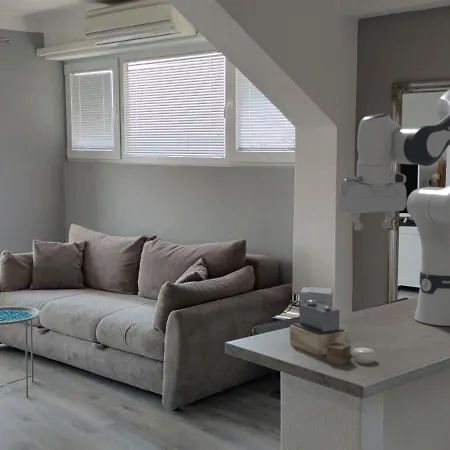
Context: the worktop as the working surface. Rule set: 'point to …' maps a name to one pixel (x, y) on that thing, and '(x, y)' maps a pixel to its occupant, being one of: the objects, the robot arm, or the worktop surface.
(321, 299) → the ink box
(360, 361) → the white egg shape
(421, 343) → the worktop surface
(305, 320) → the block
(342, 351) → the walnut block
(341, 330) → the stand
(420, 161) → the robot arm
